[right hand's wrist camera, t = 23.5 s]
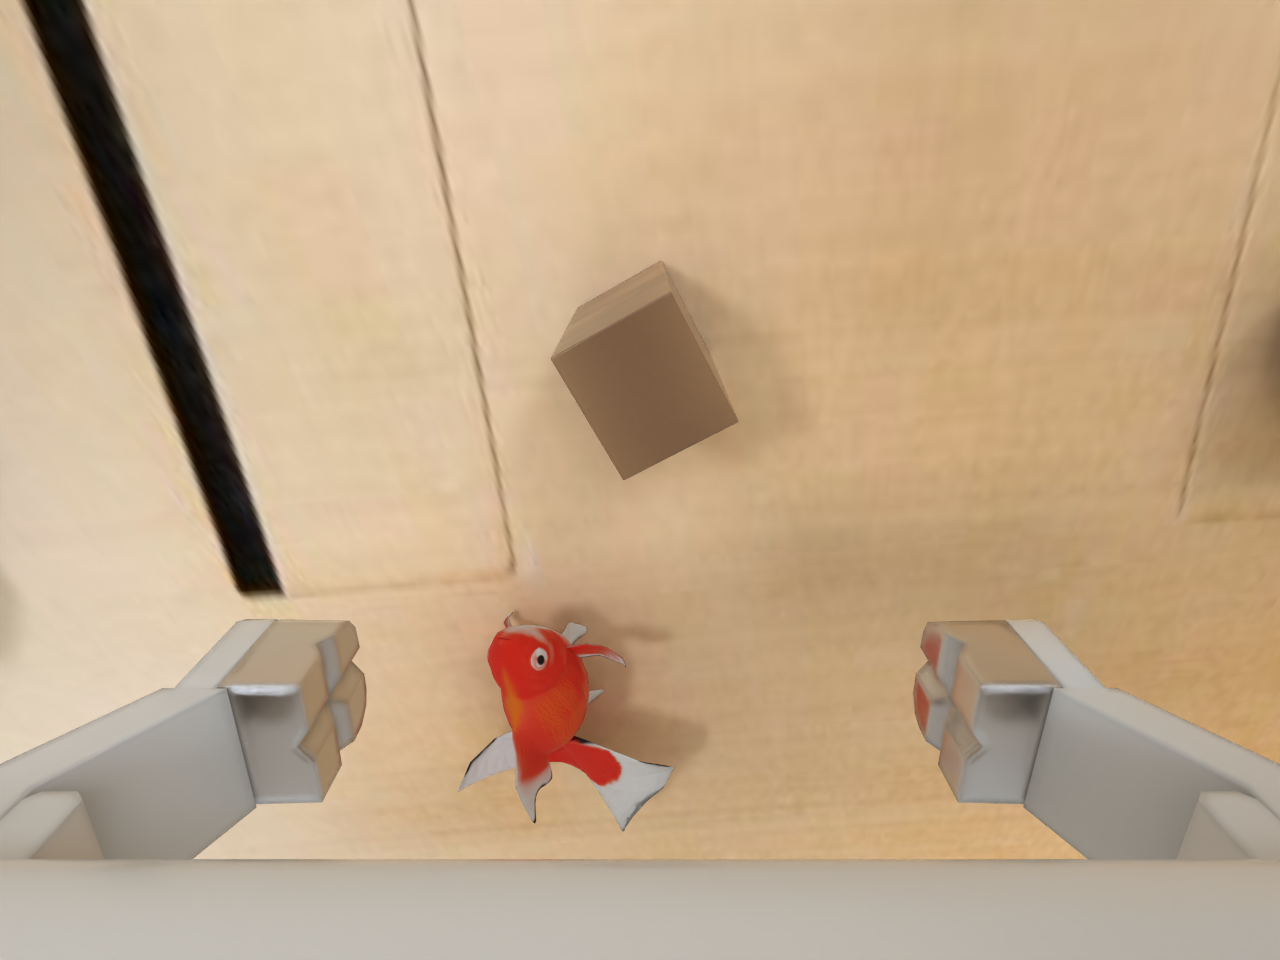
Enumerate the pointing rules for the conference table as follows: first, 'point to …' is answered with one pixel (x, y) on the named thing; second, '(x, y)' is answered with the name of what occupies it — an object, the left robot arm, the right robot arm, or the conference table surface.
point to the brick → (642, 372)
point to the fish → (556, 721)
